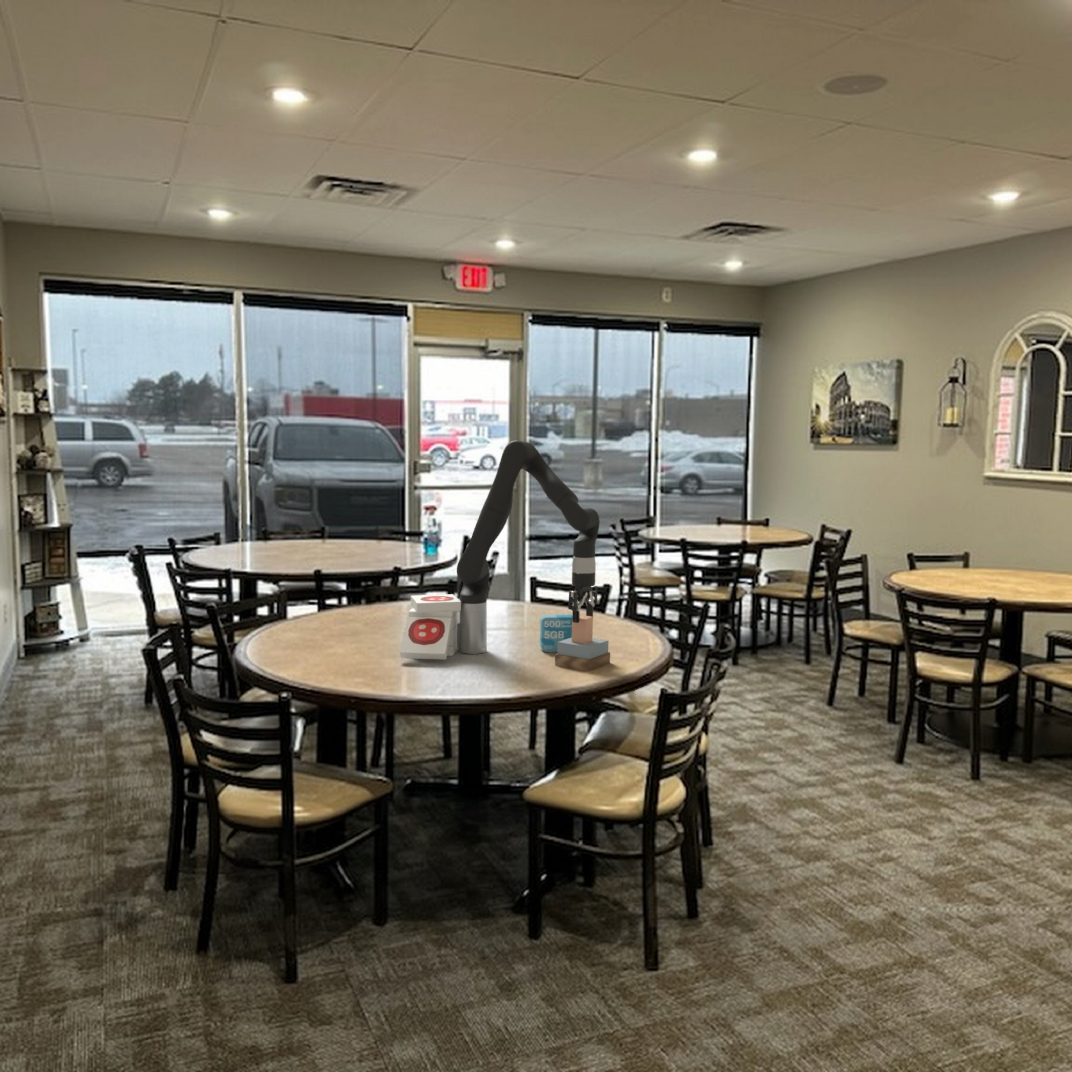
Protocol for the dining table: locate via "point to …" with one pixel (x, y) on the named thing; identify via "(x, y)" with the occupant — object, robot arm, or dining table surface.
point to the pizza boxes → (431, 627)
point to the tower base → (582, 662)
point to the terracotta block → (582, 630)
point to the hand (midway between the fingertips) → (582, 620)
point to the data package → (554, 631)
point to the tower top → (582, 648)
